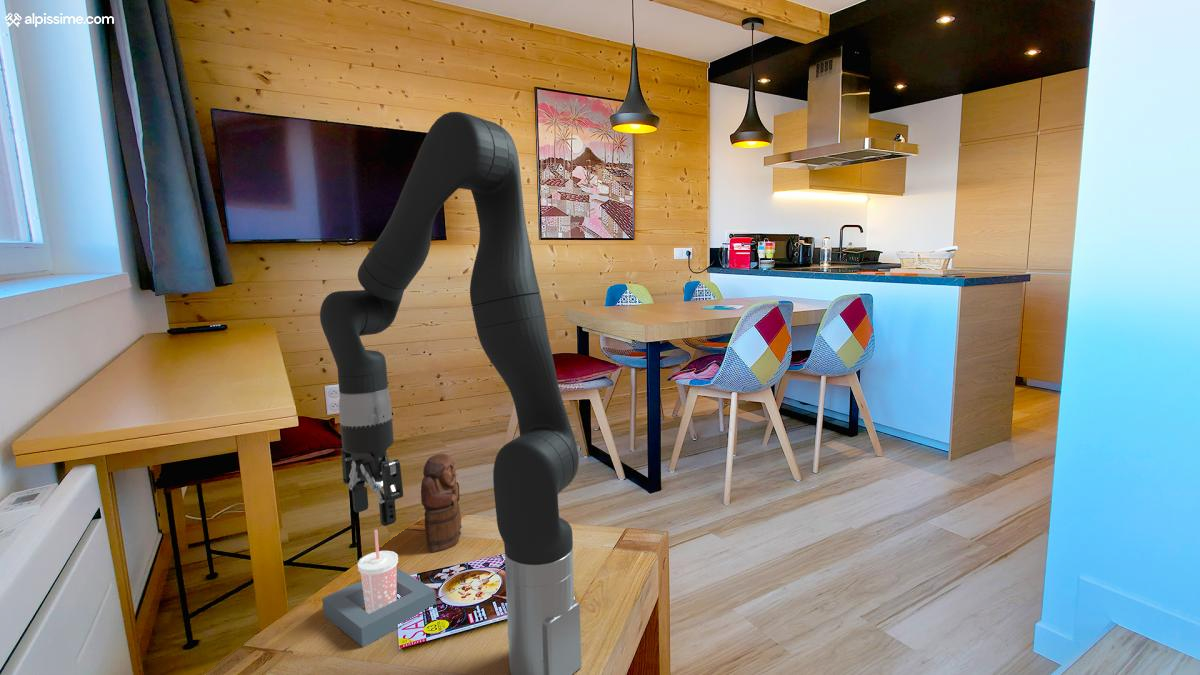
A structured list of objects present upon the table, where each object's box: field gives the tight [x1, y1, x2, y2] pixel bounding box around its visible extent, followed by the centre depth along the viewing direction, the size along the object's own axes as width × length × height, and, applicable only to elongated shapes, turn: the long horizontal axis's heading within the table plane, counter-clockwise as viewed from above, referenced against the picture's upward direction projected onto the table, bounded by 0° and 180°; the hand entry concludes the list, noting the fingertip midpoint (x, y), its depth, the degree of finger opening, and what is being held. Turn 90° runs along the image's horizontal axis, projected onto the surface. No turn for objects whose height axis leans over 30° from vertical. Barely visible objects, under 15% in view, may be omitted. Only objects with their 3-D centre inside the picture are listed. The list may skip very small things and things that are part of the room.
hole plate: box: [321, 567, 437, 648], centre depth 92 cm, size 13×13×3 cm
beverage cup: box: [357, 529, 399, 614], centre depth 91 cm, size 6×6×14 cm
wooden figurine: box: [420, 453, 463, 553], centre depth 116 cm, size 12×6×18 cm, turn 3°
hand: (374, 517), depth 90 cm, fingers open, 8 cm apart
